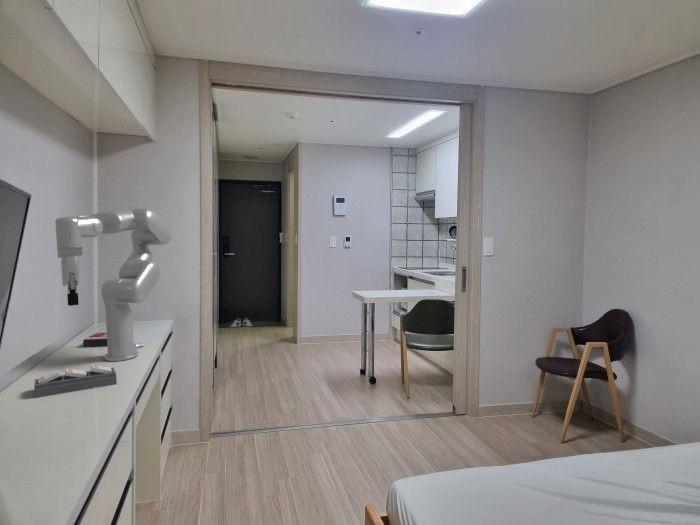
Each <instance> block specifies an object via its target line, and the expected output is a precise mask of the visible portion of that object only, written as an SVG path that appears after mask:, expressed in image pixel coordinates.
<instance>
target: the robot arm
mask: <svg viewBox="0 0 700 525" xmlns="http://www.w3.org/2000/svg"><path fill="white" fill-rule="evenodd" d="M127 231H131V244H132V252H131V253H130V255H129V256H128V258H127V259H126V260H125V262H124V263H123V264H122V265H121V267H120V268H119V271H118V278H110V279H107V280H105V282H104V283H103V284H102V285H101V291H100V292H101V298H102V301H103V304H104V312H105V327H106V333H107V353H106V354H104V355H103V360H104V361H106V362H107V361H108V362H120V361H127V360H131V359H134V358H136V357H138V356H139V351H138V350H139V349H141V348H145V344H144V342H140V343H136V342H134V325H133V322H134V321H133V311H132V309H131V306H130V305H129V304H139V303H142V302H143V301H145V300H146V299H147V297H148V296H149V294H150V293H151V292H152V290H153V289H154V287H155V286H156V284H157V282H159V278H160V276H161V274H160V273H161V269H160V266H159V264H158V263H157V262H155V261H153V255H152V254H153V253H152V252H151V250H150V248H149V246H163V245H168V243H169V242H170V241H171V239H172V231H171V229H170V227H169V226H168V225H167V223H166V222H165V221H163V219H162V218H161V217H160V216H159V214H157V213H156V211H154V210H152V209H150V208H128V209H127V208H125V209H119V210H113V211H111V210H110V211H103V212H97V213H91V214H90V213H88V214H79V215H74V216H73V215H72V216H66V217H64V216H63V217H62V216H61V217H58V218H56V220H55V237H56V251H57V252H56V253H57V258H59V259H60V258H61V259H60V260H61V261H60V263H61V264H60V265H61V267H60V268H61V282H62V286H63V287H66V286H67V287H66V288H67V294H66V295H67V296H66V297H67V306H68V307H69V306H70V307H72V306H78V305H79V294H78V286H80V259H79V258H82V257H83V246H82V245H83V244H82V243H83V242H82V238H96V237H98V236H100V235H110V234H117V233H123V232H127Z"/></svg>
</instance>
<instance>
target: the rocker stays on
mask: <svg viewBox="0 0 700 525" xmlns="http://www.w3.org/2000/svg"><path fill="white" fill-rule="evenodd" d="M60 375H61V372H60V370H59V369H56V370H54V371H52V372H49V373H48V374H46V375H43V376H41V377H39V378H37V379H38V383H39V384H42V383H47V382H49V381H51V380H53V379H55V378H57V377H59V376H60Z"/></svg>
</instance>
